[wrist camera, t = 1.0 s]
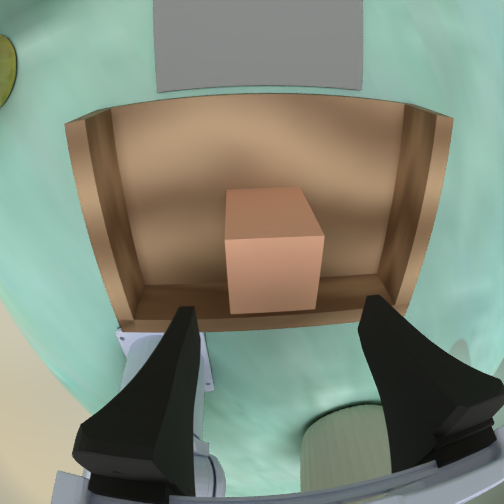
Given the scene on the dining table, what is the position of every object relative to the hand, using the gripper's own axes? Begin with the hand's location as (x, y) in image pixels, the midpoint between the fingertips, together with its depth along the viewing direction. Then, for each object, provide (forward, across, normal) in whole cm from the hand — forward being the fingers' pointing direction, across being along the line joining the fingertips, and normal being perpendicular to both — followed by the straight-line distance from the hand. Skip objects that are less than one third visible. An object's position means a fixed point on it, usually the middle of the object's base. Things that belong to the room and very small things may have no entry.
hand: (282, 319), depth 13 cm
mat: (+10, 0, -14) cm, 17 cm away
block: (+9, 0, 0) cm, 9 cm away
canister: (+10, -12, +32) cm, 36 cm away
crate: (+10, 0, -1) cm, 10 cm away
